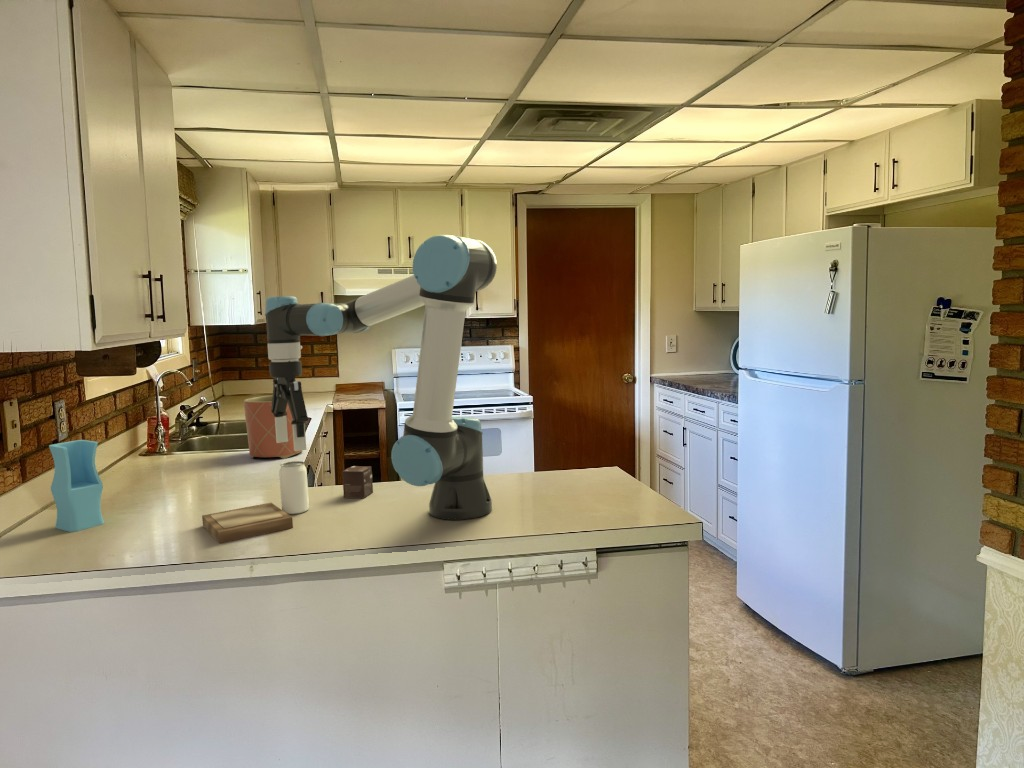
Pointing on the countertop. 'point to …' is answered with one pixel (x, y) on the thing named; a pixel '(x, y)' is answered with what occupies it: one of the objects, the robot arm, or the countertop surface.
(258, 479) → the countertop surface
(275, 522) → the board
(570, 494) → the countertop surface
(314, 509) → the countertop surface
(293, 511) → the can
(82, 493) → the vase
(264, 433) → the planter
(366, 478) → the box
